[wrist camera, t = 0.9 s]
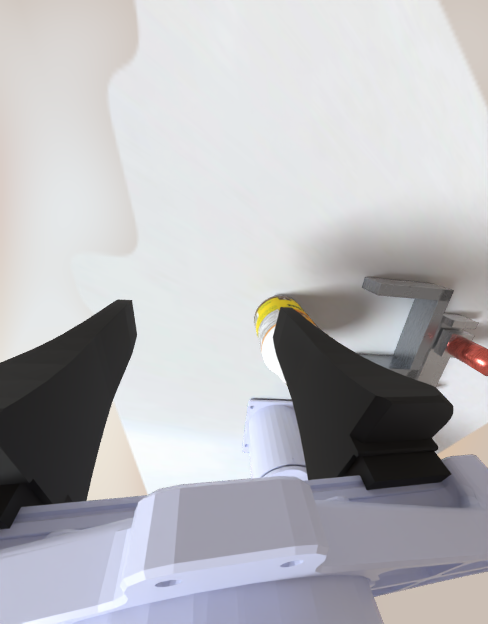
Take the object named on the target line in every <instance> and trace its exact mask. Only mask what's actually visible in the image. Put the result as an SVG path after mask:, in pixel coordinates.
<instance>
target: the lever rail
mask: <svg viewBox="0 0 488 624" xmlns="http://www.w3.org/2000/svg"><path fill="white" fill-rule="evenodd" d="M478 323H479V322H476V321H474V320H471V319H469V318H466V317H464V316H461V315H457V314H445V313H444V314H443V317H442V319H441V321H440V323H439V326H438V328H437V330H436V333H435V335H434V337H433V339H432V342H431V344H430V346H429V349H428V351H427V353H426V355H425V358H424V360H423V362H422V365H421V367H420V369H419V371H418V374H417V376H416V378H415V380H418V381H421V382H424V383H427V384H429V385H432V386H434V387H436V385H437V383H438V381H439V379H440V377H441V375H442V373H443V371H444V369H445V367H446V365H447V363H448V360H449V358H450V357H441V356H439V355H438V354H436V353H435V352H433V351H434V349H435V347H436V345H437V342H438V340H439V338H440V336H441V333H442V331H443V329H444V330H458V331H463V329H464V328H469V329H476V327H477V325H478ZM412 379H413V378H412Z"/></svg>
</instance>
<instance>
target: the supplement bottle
mask: <svg viewBox="0 0 488 624" xmlns="http://www.w3.org/2000/svg"><path fill="white" fill-rule="evenodd" d="M280 307H292V308H293V309H295V310H296V311H297V312H299V313H300V314H301V315H302V316H304V317H305V318H306V319H307V320H309V321H310V322H311V323H312V324H314V325H315V323H314V322H313V321H312V320H311V318H310V317H309V316H308V315H307V314H306V313H305V312H304V310H303V309H302V308H301V307H300V306H299V304H298V303H297V302H296V301H294V300H293V299H291V298H289V297H286V296H280V295H278V296H273V297H270V298H268V299H266V300H264V301H263V302H262V303H261V304H260V305H259V306H258V308H257V310H256V312H255V316H254V323H255V328H256V332H257V336H258V340H259V344H260V348H261V352H262V356H263V359H264V362H265V364H266V365H267V367H268V368H269V369H270V370H271V371H272V372H274V373H275V374H277V375H279V377H280V378H281V380H282V381H283V382H285V383H286V381H285V378H284V375H283V373H282V370H281V367H280V364H279V361H278V359H277V356H276V352H275V348H274V342H273V334H274V330H275V326H276V322H277V318H278V314H279V310H280ZM315 326H316V325H315ZM316 327H317V326H316Z"/></svg>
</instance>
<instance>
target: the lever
mask: <svg viewBox="0 0 488 624" xmlns="http://www.w3.org/2000/svg"><path fill="white" fill-rule="evenodd" d="M473 338H474V335H472V334H470V333H468V332H466V331H458V330H444V329H443V331H442V333H441V336H440V338H439V340H438V342H437V345H436V347H435V349H434V351H433V352H435V353H436V354H438V355H439V356H441V357H452V358H457V359H459V360H460V361H462V362H464V363H465V364H467V365H469V366H470V367H472V368H474V369H475V370H477V371H478V372H480V373H482V374H483V375H485V376H488V349H487V348H484V347H482V346H480V345H478V344H476V343H474V342H472V340H473Z"/></svg>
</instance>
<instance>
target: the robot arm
mask: <svg viewBox="0 0 488 624" xmlns="http://www.w3.org/2000/svg"><path fill="white" fill-rule="evenodd" d="M136 337H137V332H136V325H135V318H134V311H133V304H132V300H116V301H115V302H113V303H111V304H110V305H108V306H107V307H105V308H104V309H102V310H101V311H99V312H98V313H96V314H95V315H93V316H92V317H91V318H89V319H87V320H86V321H84V322H83V323H81V324H79V325H77V326H76V327H74V328H72V329H71V330H69V331H67V332H66V333H64V334H62V335H60V336H58V337H57V338H55V339H53V340H51V341H49V342H47V343H45V344H43V345H41V346H39V347H36V348H34V349H32V350H30V351H27V352H25V353H23V354H20V355H18V356H16V357H13V358H11V359H8V360H6V361H4V362H1V363H0V624H384V623H383V620H382V618H381V615H380V612H379V610H378V607H377V604H376V602H375V599H374V597H376V596H380V595H385V594H389V593H393V592H398V591H402V590H406V589H411V588H415V587H419V586H423V585H428V584H432V583H436V582H441V581H445V580H450V579H455V578H459V577H463V576H468V575H473V574H478V573H483V572H488V468H487V467H486V466H485V465H484V464H483V463H482V462H481V460H480V459H479V458H478V457H477V456H476V455H461V456H450V457H446V458H444V459H442V460H441V459H440V458H439V457H438V456H437V454H436V453H435V452H434V451H436V450H438V446H437V444H436V443H435V442H434V441H433V439H432V437H433V436H434V435H435V434H436V433H437V432H438V431H439V430H440V429H441V428H442V427H443V426H444V425H446V423H447V422H448V421H449V420H450V419H451V417H452V415H453V405H452V404H451V403H450V402H449V401H448V400H447V399H446V398H445V397H444V396H443V395H442V393H441V392H440V391H439V390H438V389H437V388H436V387H434V386H432V385H429V384H427V383H424V382H421V381H418V380H415V379H412V378H410V377H407V376H404V375H402V374H399V373H397V372H394V371H392V370H390V369H387V368H385V367H383V366H381V365H378V364H376V363H374V362H372V361H370V360H368V359H366V358H364V357H362V356H360V355H359V354H357V353H355V352H353V351H352V350H350V349H348V348H347V347H345V346H343V345H342V344H340V343H339V342H337V341H336V340H334V339H333V338H331V337H330V336H328V335H327V334H326V333H324V332H323V331H322V330H320V329H319V328H318V327H316V326H315V325H314V324H312V323H311V322H310V321H309V320H307V319H306V318H305V317H304V316H302V315H301V314H300V313H299V312H297V311H296V310H295V309H293V308H292V307H280V310H279V314H278V318H277V322H276V326H275V330H274V334H273V342H274V348H275V352H276V356H277V359H278V361H279V364H280V367H281V370H282V373H283V375H284V378H285V381H286V384H287V386H288V389H289V392H290V395H291V398H292V401H279V400H254V399H252V400H250V401H249V402H248V409H247V417H246V424H245V431H244V438H243V445H242V451H243V452H244V453H249V457H250V468H251V479H240V480H228V481H217V482H206V483H194V484H183V485H177V486H172V487H167V488H162V489H158V490H156V491H154V492H153V493H151V494H149V495H145V496H135V497H125V498H114V499H103V500H93V501H86V500H87V496H88V491H89V486H90V482H91V478H92V473H93V469H94V466H95V462H96V457H97V454H98V450H99V446H100V442H101V438H102V435H103V431H104V428H105V424H106V421H107V417H108V414H109V411H110V407H111V404H112V401H113V398H114V396H115V393H116V391H117V388H118V386H119V384H120V381H121V379H122V377H123V374H124V372H125V370H126V367H127V365H128V362H129V360H130V358H131V355H132V352H133V349H134V345H135V341H136ZM251 406H252V407H251Z"/></svg>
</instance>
